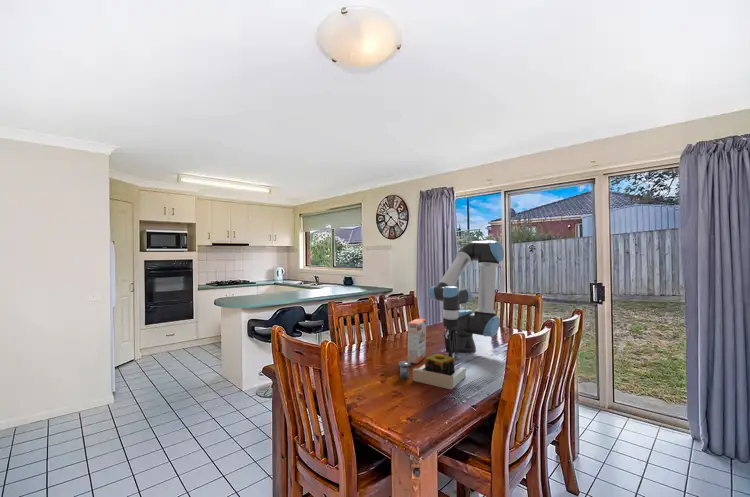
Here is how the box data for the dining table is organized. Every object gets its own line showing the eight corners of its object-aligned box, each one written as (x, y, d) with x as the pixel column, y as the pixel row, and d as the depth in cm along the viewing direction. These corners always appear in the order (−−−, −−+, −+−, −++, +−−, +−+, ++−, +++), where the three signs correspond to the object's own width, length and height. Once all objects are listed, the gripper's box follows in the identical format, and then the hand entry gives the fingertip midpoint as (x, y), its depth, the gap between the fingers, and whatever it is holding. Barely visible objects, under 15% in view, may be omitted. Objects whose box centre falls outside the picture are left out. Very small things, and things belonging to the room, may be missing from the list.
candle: (441, 385, 151) (441, 362, 151) (423, 379, 158) (423, 357, 158) (455, 379, 157) (455, 357, 157) (437, 373, 165) (437, 353, 165)
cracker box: (418, 364, 178) (418, 323, 179) (407, 362, 181) (407, 322, 181) (426, 356, 191) (426, 318, 191) (416, 355, 194) (416, 317, 194)
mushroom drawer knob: (402, 374, 164) (402, 360, 164) (412, 377, 160) (412, 362, 160) (396, 378, 159) (396, 363, 159) (407, 380, 156) (407, 365, 156)
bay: (429, 369, 171) (429, 359, 171) (465, 376, 161) (465, 365, 161) (413, 380, 156) (413, 369, 156) (451, 389, 146) (451, 377, 146)
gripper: (448, 314, 178) (448, 360, 178) (438, 319, 167) (438, 368, 167) (462, 316, 174) (463, 363, 174) (453, 321, 163) (453, 371, 163)
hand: (451, 365), depth 171 cm, fingers closed
